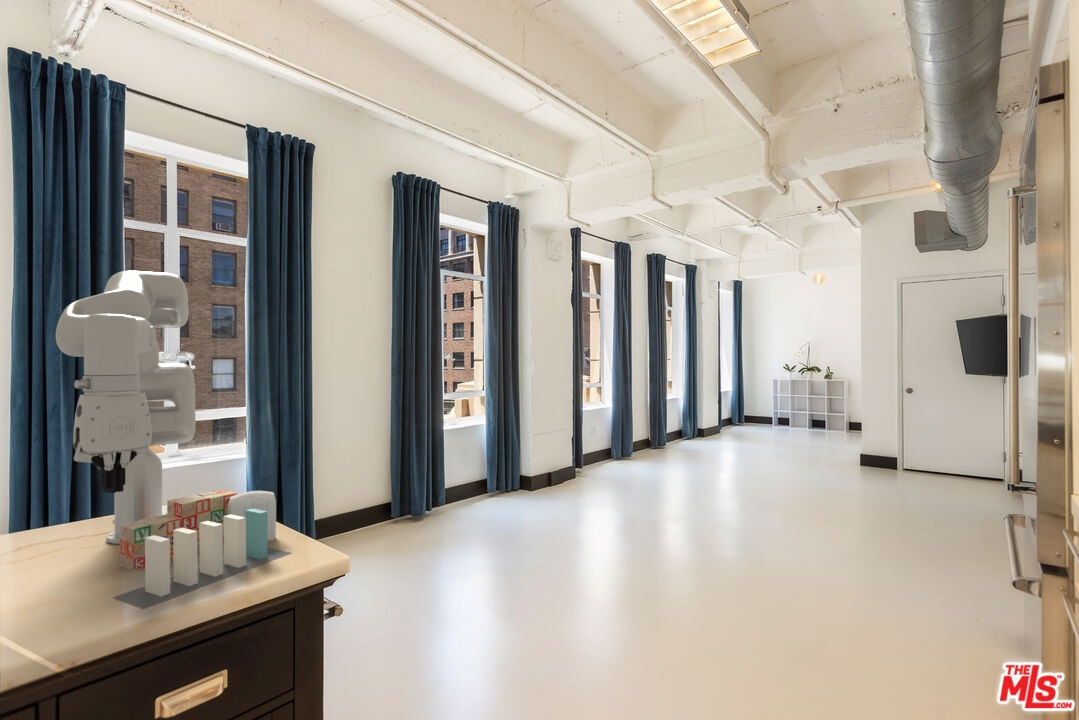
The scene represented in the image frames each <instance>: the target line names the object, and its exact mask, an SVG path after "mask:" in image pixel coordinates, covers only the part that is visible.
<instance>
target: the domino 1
mask: <svg viewBox="0 0 1079 720" xmlns="http://www.w3.org/2000/svg"><path fill="white" fill-rule="evenodd" d="M144 568H145V569H144V572H145V575H144V576H145V578H144V579H145V580H144V581H145V582H144V583H145V585H144V586H145V591H146V592H149V593H152V594H155V595H158V596H164V595H167V594H169V593H170V577H171V560H170V539H167V538H163V537H160V536H156V535H153V536H149V537H146V538H145V567H144Z"/></svg>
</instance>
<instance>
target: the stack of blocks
mask: <svg viewBox="0 0 1079 720" xmlns="http://www.w3.org/2000/svg"><path fill="white" fill-rule="evenodd" d="M235 495H238V494H237V492H234V491H230V490H226V489H220V490H214V491H205V492H201V493H196V494H192V495H188V496H183V497H178V498H173V499H168V500H167V505H166V509H167V511H166V512H167V513H164V514H162V515H161V516H156V517H151V518H147V519H142V520H138V521H133V522H129V523H124V524H121V525H120V544H119V566H120V567H119V568H122V567H124V568H127V569H128V570H131V571H136V570H139V569H144V568H145V538H146V537H149V536H153V535H156V536H160V537H163V538H167V539H170V561H171V560H174V552H173V530H175V529H179V528H185V529H190V530H194V531H197V553H200V542H199V523H201V522H204V521H211V522H215V523H220V524H223V516H227V506H228V503H229V500H230V497H233V496H235ZM223 546H224V536H223Z"/></svg>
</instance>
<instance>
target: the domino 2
mask: <svg viewBox="0 0 1079 720" xmlns="http://www.w3.org/2000/svg"><path fill="white" fill-rule="evenodd" d="M173 552H174V559H173V576H174V582H177V583H181V584H184V585H187V586H191V585H194V584H197V583H198V568H199V567H198V564H199V563H198V552H197V531H194V530H190V529H185V528H179V529H175V530H173Z"/></svg>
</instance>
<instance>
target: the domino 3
mask: <svg viewBox="0 0 1079 720" xmlns="http://www.w3.org/2000/svg"><path fill="white" fill-rule="evenodd" d="M199 542H200V551H199V567H200V572H201V573H204V574H208V575H211V576H214V577H216V576H218V575H221V574H223V559H224V545H223V524H220V523H215V522H211V521H204V522H201V523H199Z"/></svg>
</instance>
